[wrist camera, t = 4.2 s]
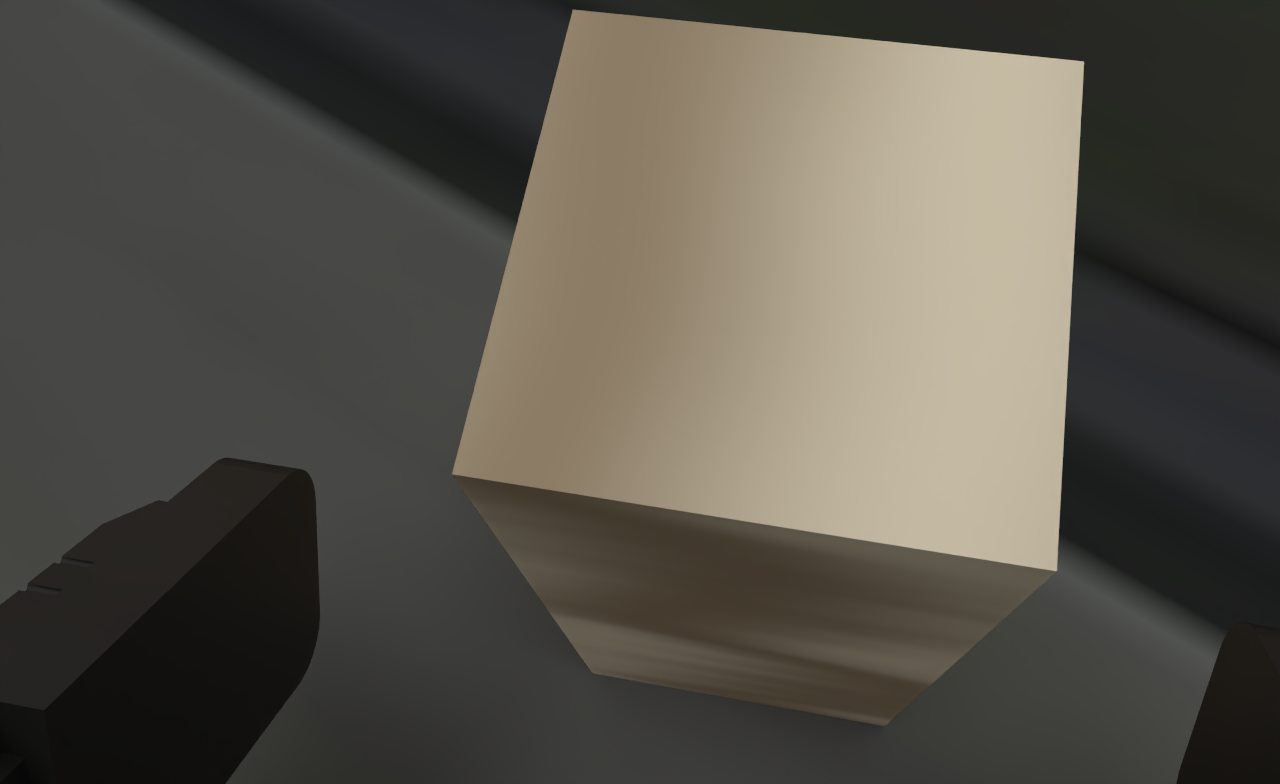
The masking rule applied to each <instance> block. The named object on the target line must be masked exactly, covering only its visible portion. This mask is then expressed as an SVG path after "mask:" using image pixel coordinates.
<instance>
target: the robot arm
mask: <svg viewBox="0 0 1280 784" xmlns="http://www.w3.org/2000/svg"><path fill="white" fill-rule="evenodd" d="M319 621H320V603H319V577H318V550H317V523H316V498H315V489H314V484H313V482H312V479H311V477H310V475H309V474H308V473H307V472H306V471H304V470H302V469H296V468H290V467H284V466H277V465H271V464H265V463H259V462H252V461H246V460H240V459H234V458H223V459H220V460H218V461H217V462H215V463H214V464H213V465H211V466H210V467H209V468H208V469H207V470H205V471H204V472H203V473H202V474H201V475H199V476H198V477H197V478H196V479H195V480H193V481H192V482H191V483H190V484H189V485H187V486H186V487H185V488H184V489H183V490H181V491H180V492H179V493H178V494H177V495H175V496H174V497H173V498H172V499H171V500H169V501H168V502H165V501H159V500H158V501H155V502H153V503H151V504H148V505H146V506H144V507H142V508H139V509H137V510H135V511H132V512H130V513H128V514H125V515H123V516H121V517H118V518H116V519H114V520H111V521H109V522H107V523H104V524H102V525H101V526H100V527H98V528H97V529H96V530H95V531H93V532H92V533H91V534H89V535H88V536H87V537H86V538H84V539H83V540H82V541H81V542H79V543H78V544H77V545H76V546H74V547H73V548H72V549H71V550H69V551H68V552H67V553H65V554H64V555H63V556H62V560H61V563H60V564H57V563H53V564H52V565H50V566H49V567H48V568H47V569H45V570H44V571H43V572H42V573H40V574H39V575H38V576H36V577H35V578H34V579H33V580H31V581H30V582H29V583H28V587H27V590H26V591H20V590H19V591H18V592H16V593H15V594H14V595H12V596H11V597H10V598H9V599H7V600H6V601H5V602H4V603H2V604H1V605H0V784H225V783H226V782H227V781H228V779H229V778H230V777H231V775H232V774H233V772H234V771H235V770H236V768H237V767H238V766H239V764H240V763H241V762H242V760H243V759H244V758H245V756H246V755H247V754H248V752H249V751H250V750H251V748H252V747H253V745H254V744H255V743H256V741H257V740H258V739H259V737H260V736H261V735H262V733H263V732H264V731H265V729H266V728H267V727H268V725H269V724H270V723H271V721H272V720H273V718H274V717H275V716H276V714H277V713H278V712H279V710H280V709H281V708H282V706H283V705H284V704H285V702H286V701H287V700H288V698H289V697H290V695H291V694H292V693H293V691H294V690H295V689H296V687H297V686H298V685H299V683H300V682H301V680H302V678H303V677H304V675H305V673H306V671H307V669H308V666H309V664H310V661H311V659H312V656H313V653H314V649H315V646H316V641H317V637H318V630H319ZM1177 784H1280V628H1276V627H1270V626H1263V625H1257V624H1251V623H1245V622H1243V623H1238V624H1236V625H1234V626H1233V627H1232V628H1231V629H1230V631H1229V632H1228V633H1227V635H1226V637H1225V639H1224V641H1223V643H1222V645H1221V648H1220V651H1219V654H1218V657H1217V660H1216V663H1215V666H1214V669H1213V672H1212V675H1211V678H1210V681H1209V683H1208V686H1207V689H1206V692H1205V695H1204V698H1203V701H1202V704H1201V707H1200V710H1199V713H1198V716H1197V719H1196V722H1195V725H1194V728H1193V731H1192V734H1191V737H1190V740H1189V743H1188V746H1187V749H1186V752H1185V755H1184V758H1183V761H1182V764H1181V767H1180V771H1179V774H1178V779H1177Z"/></svg>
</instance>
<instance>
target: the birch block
mask: <svg viewBox="0 0 1280 784" xmlns="http://www.w3.org/2000/svg"><path fill="white" fill-rule="evenodd" d="M1083 71H1084V62H1083V61H1073V60H1063V59H1054V58H1044V57H1034V56H1024V55H1014V54H1004V53H994V52H985V51H975V50H965V49H955V48H945V47H935V46H925V45H916V44H906V43H896V42H886V41H876V40H866V39H856V38H847V37H837V36H827V35H817V34H807V33H797V32H787V31H778V30H768V29H758V28H748V27H738V26H728V25H718V24H709V23H699V22H689V21H679V20H669V19H659V18H650V17H640V16H630V15H620V14H610V13H600V12H590V11H581V10H573V12H572V16H571V20H570V23H569V27H568V31H567V35H566V39H565V43H564V46H563V50H562V54H561V58H560V62H559V66H558V69H557V73H556V77H555V81H554V85H553V89H552V92H551V96H550V100H549V104H548V108H547V112H546V116H545V119H544V123H543V127H542V131H541V135H540V139H539V142H538V146H537V150H536V154H535V158H534V162H533V165H532V169H531V173H530V177H529V181H528V185H527V189H526V192H525V196H524V200H523V204H522V208H521V212H520V215H519V219H518V223H517V227H516V231H515V235H514V238H513V242H512V246H511V250H510V254H509V258H508V261H507V265H506V269H505V273H504V277H503V281H502V285H501V288H500V292H499V296H498V300H497V304H496V308H495V311H494V315H493V319H492V323H491V327H490V331H489V334H488V338H487V342H486V346H485V350H484V354H483V358H482V361H481V365H480V369H479V373H478V377H477V381H476V384H475V388H474V392H473V396H472V400H471V404H470V407H469V411H468V415H467V419H466V423H465V427H464V431H463V434H462V438H461V442H460V446H459V450H458V454H457V457H456V461H455V465H454V469H453V473H452V475H453V476H454V478H455V479H456V480H457V482H458V483H459V485H460V486H461V488H462V489H463V490H464V492H465V493H466V495H467V496H468V497H469V499H470V500H471V502H472V503H473V505H474V506H475V507H476V509H477V510H478V512H479V513H480V514H481V516H482V517H483V519H484V520H485V522H486V523H487V524H488V526H489V527H490V529H491V530H492V532H493V533H494V534H495V536H496V537H497V539H498V540H499V541H500V543H501V544H502V546H503V547H504V549H505V550H506V551H507V553H508V554H509V556H510V557H511V558H512V560H513V561H514V563H515V564H516V566H517V567H518V568H519V570H520V571H521V573H522V574H523V575H524V577H525V578H526V580H527V581H528V583H529V584H530V585H531V587H532V588H533V590H534V591H535V593H536V594H537V595H538V597H539V598H540V600H541V601H542V602H543V604H544V605H545V607H546V608H547V610H548V611H549V612H550V614H551V615H552V617H553V618H554V619H555V621H556V622H557V624H558V625H559V627H560V628H561V629H562V631H563V632H564V634H565V635H566V636H567V638H568V639H569V641H570V642H571V644H572V645H573V646H574V648H575V649H576V651H577V652H578V654H579V655H580V656H581V658H582V659H583V661H584V662H585V663H586V665H587V666H588V668H589V669H590V671H591V672H592V673H594V674H599V675H605V676H610V677H616V678H621V679H627V680H632V681H638V682H643V683H649V684H654V685H660V686H665V687H671V688H676V689H682V690H687V691H693V692H698V693H704V694H709V695H715V696H720V697H726V698H731V699H737V700H742V701H748V702H753V703H759V704H764V705H770V706H775V707H781V708H786V709H792V710H797V711H803V712H808V713H814V714H819V715H825V716H830V717H836V718H841V719H847V720H852V721H858V722H863V723H869V724H874V725H880V726H886V725H887V724H888V723H889V722H890V721H891V720H892V719H893V718H895V717H896V716H897V715H898V714H899V713H900V712H901V711H902V710H903V709H905V708H906V707H907V706H908V705H909V704H910V703H911V702H912V701H913V700H915V699H916V698H917V697H918V696H919V695H920V694H921V693H922V692H923V691H924V690H926V689H927V688H928V687H929V686H930V685H931V684H932V683H933V682H934V681H936V680H937V679H938V678H939V677H940V676H941V675H942V674H943V673H944V672H946V671H947V670H948V669H949V668H950V667H951V666H952V665H953V664H954V663H956V662H957V661H958V660H959V659H960V658H961V657H962V656H963V655H964V654H966V653H967V652H968V651H969V650H970V649H971V648H972V647H973V646H974V645H975V644H977V643H978V642H979V641H980V640H981V639H982V638H983V637H984V636H985V635H987V634H988V633H989V632H990V631H991V630H992V629H993V628H994V627H995V626H997V625H998V624H999V623H1000V622H1001V621H1002V620H1003V619H1004V618H1005V617H1007V616H1008V615H1009V614H1010V613H1011V612H1012V611H1013V610H1014V609H1015V608H1017V607H1018V606H1019V605H1020V604H1021V603H1022V602H1023V601H1024V600H1025V599H1026V598H1028V597H1029V596H1030V595H1031V594H1032V593H1033V592H1034V591H1035V590H1036V589H1038V588H1039V587H1040V586H1041V585H1042V584H1043V583H1044V582H1045V581H1046V580H1048V579H1049V578H1050V577H1051V576H1052V575H1053V574H1054V573H1055V572H1056V571H1057V556H1058V537H1059V518H1060V500H1061V481H1062V462H1063V444H1064V425H1065V407H1066V388H1067V369H1068V351H1069V332H1070V313H1071V295H1072V276H1073V257H1074V239H1075V220H1076V201H1077V183H1078V164H1079V146H1080V127H1081V108H1082V90H1083Z"/></svg>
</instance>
